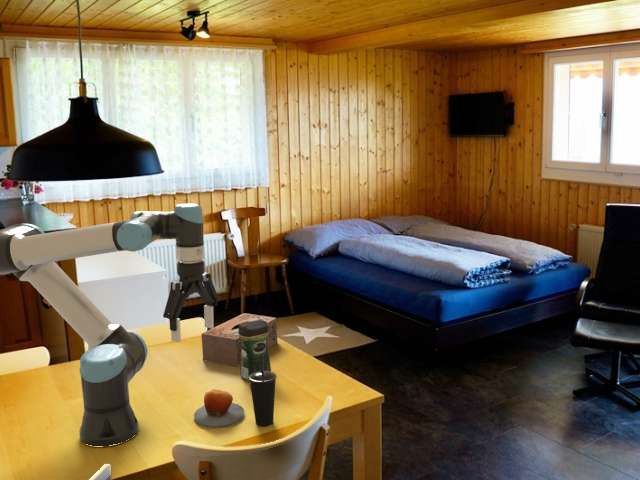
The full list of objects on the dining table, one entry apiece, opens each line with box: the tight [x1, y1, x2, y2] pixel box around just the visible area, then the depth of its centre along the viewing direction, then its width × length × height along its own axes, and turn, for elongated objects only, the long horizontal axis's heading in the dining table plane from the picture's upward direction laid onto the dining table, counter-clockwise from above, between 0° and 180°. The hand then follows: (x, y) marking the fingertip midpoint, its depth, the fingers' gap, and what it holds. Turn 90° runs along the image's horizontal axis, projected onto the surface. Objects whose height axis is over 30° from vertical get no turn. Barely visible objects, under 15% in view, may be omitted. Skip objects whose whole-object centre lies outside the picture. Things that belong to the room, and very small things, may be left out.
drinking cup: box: [248, 354, 278, 428], centre depth 183 cm, size 8×8×20 cm
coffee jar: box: [238, 319, 272, 381], centre depth 216 cm, size 10×8×19 cm
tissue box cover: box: [201, 313, 278, 368], centre depth 240 cm, size 26×14×10 cm, turn 152°
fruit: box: [203, 388, 234, 418], centre depth 188 cm, size 8×8×8 cm
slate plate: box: [193, 402, 245, 429], centre depth 189 cm, size 14×14×1 cm
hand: (193, 334), depth 188 cm, fingers open, 13 cm apart
